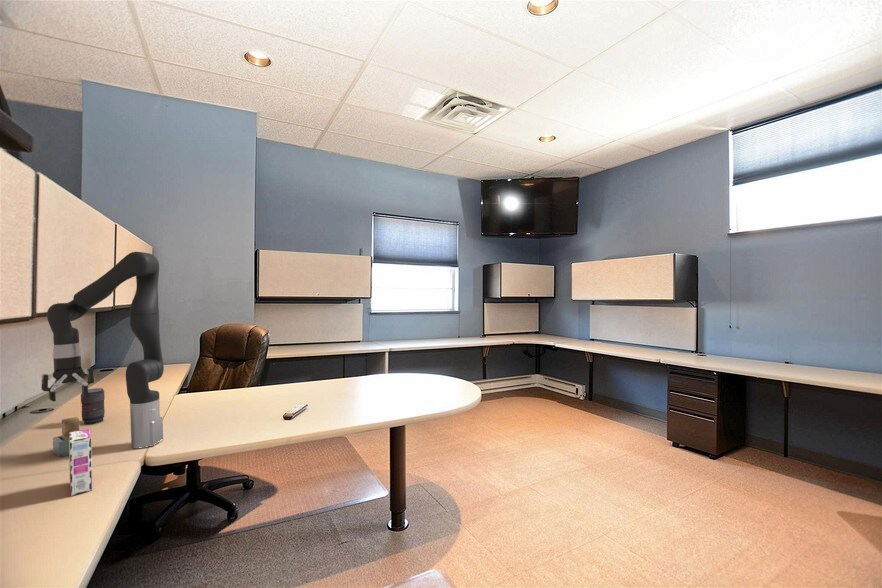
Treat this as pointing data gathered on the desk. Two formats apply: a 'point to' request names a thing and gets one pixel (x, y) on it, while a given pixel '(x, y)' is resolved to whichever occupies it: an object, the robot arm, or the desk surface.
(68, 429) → the tan wooden block
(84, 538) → the desk surface
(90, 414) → the camera lens
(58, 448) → the slate open square box
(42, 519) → the desk surface
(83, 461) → the candy bar box
